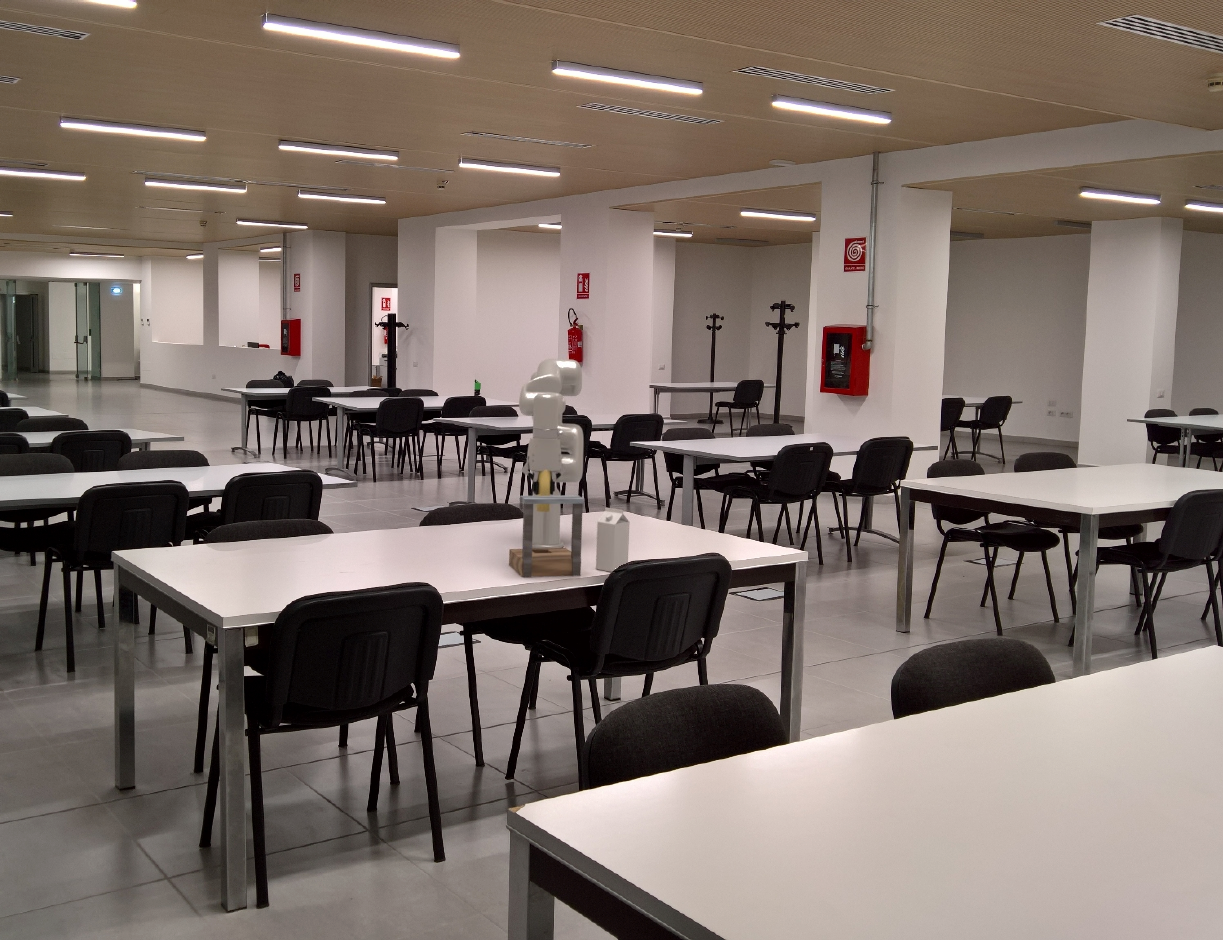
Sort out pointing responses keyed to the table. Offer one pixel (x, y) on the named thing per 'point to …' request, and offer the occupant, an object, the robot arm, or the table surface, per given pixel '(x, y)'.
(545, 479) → the peg
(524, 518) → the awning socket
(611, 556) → the milk carton
